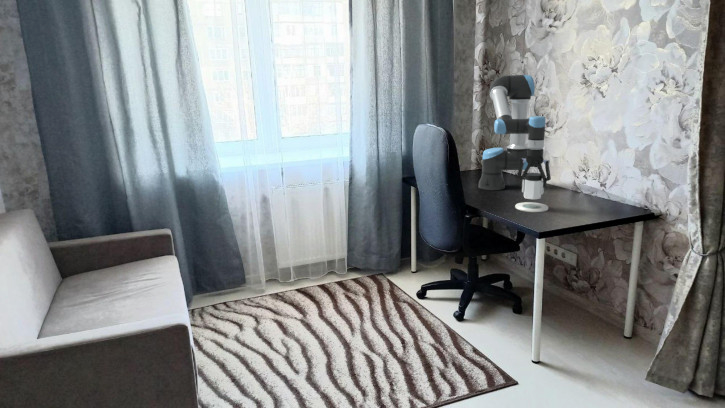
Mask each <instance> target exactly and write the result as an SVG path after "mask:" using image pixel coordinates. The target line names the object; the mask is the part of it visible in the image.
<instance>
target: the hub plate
mask: <svg viewBox="0 0 725 408" xmlns="http://www.w3.org/2000/svg"><path fill="white" fill-rule="evenodd" d="M514 208H515V209H516V210H518V211H521V212H525V213H543V212H544V213H545V212H547V211H548V210H549V206H548V205H547V204H544V203H540V202H534V201H533V202H531V201H525V202H518V203H516V204H515V206H514Z"/></svg>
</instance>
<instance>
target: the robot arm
mask: <svg viewBox="0 0 725 408" xmlns="http://www.w3.org/2000/svg"><path fill="white" fill-rule="evenodd" d="M535 90H536V85H535V81H534V77H533V76H532V75H530V74H515V75H514V74H512V75H510V74H508V75H501V76H499V77H498V78H496V79H495V80H494V81H493V82H491V84H490V86H489V91H488V92H489V98H490V99H491V100H492V102H493V107H494V108H493V109H494V111H495V116H496V120H494V124H493V127H494V133H495V134H496V135H509V137H510V138H509V145H507V147H506V149H505V150H504V147H492V148H488V149H485V150H484V151H483V153H482V159H481V160H482V164H481V165H482V168H481V177H480V179H479V181H478V188H479V189H481V190H485V191H501V190H504V189H505V188H506V187H505V186H506V185H505V181H504V176H503V171H517V175H516V177H517V179H519V180H520V183H519V184H520V186H521V193H524V183H525V174H526V173H529V171H530V169H531V168H537V170H538V173H540V174H541V177H542V182H541V195H544V194H545V193H544V191H545V189H546V187H547V182H549V181H550V180H551V179H552V177H551V172H550V160H549V159H544V148H545V133H546V125H547V123H546V117H545V116H542V115H541V116H540V115H534V116H530V117H528V103H529V102H530V101H531V99H532V97H533V96H535ZM508 97H509V98H508ZM509 102H511V108H510V105H509ZM527 117H528V118H527ZM526 135H528V136H527V138H526ZM526 139H527V145H526ZM542 164H544V167H545V168H544V169H545V170H544V169H543V165H542ZM544 171H545V172H544Z"/></svg>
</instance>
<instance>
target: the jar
mask: <svg viewBox="0 0 725 408" xmlns="http://www.w3.org/2000/svg"><path fill="white" fill-rule="evenodd" d="M524 179H525V183H524V192H523V197H524V199H528V200H539V199H540V200H541V198H542V194H541V182H542V181H543V179H542V177H541V174H540V172H527V173H526V174H525V177H524Z"/></svg>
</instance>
